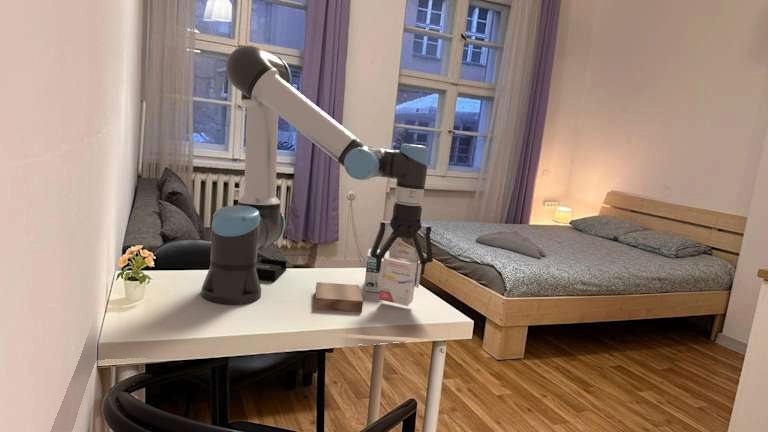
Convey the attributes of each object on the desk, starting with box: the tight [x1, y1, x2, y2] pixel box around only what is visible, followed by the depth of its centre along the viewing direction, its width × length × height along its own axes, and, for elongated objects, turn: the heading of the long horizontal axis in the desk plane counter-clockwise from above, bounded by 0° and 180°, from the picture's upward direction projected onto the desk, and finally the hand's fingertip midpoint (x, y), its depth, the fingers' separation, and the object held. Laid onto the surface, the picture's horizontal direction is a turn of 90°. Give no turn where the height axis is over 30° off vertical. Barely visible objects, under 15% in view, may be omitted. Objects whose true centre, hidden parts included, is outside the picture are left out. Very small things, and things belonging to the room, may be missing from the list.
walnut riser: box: [314, 281, 364, 313], centre depth 141 cm, size 12×14×3 cm
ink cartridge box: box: [378, 244, 419, 307], centre depth 142 cm, size 9×5×15 cm, turn 71°
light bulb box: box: [363, 248, 391, 293], centre depth 158 cm, size 11×7×11 cm, turn 179°
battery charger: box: [256, 256, 287, 283], centre depth 159 cm, size 13×10×4 cm
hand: (398, 284), depth 142 cm, fingers closed on ink cartridge box, 9 cm apart
